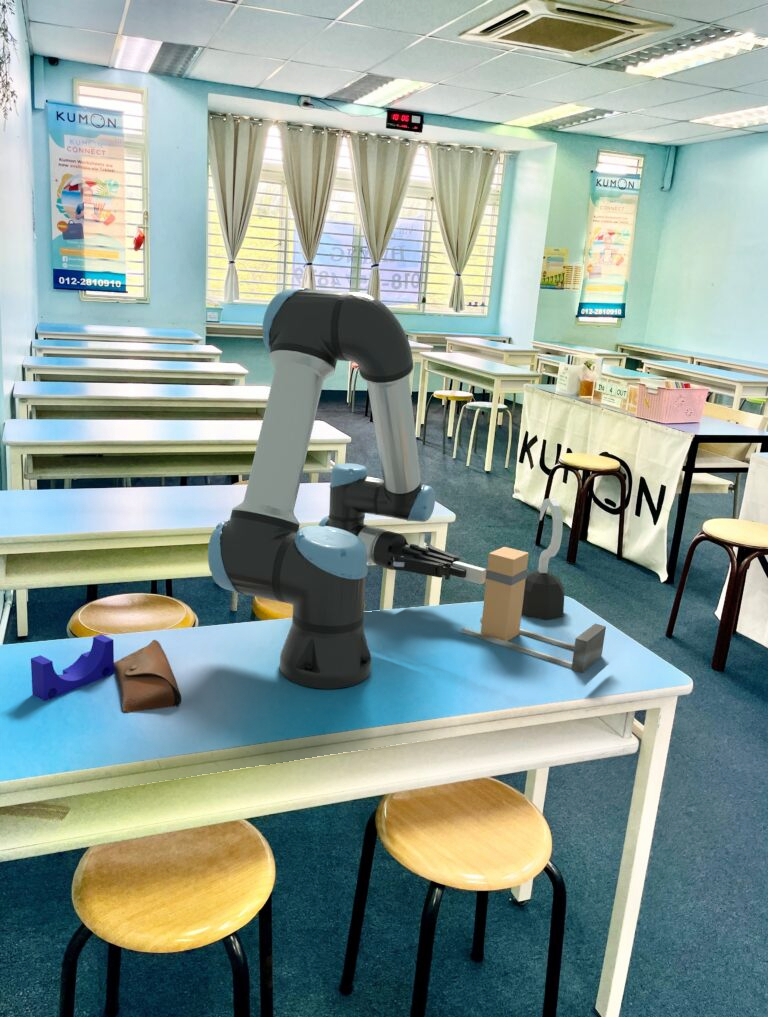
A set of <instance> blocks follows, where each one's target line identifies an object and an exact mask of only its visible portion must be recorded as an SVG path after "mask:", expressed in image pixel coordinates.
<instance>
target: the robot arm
mask: <svg viewBox="0 0 768 1017" xmlns="http://www.w3.org/2000/svg"><path fill="white" fill-rule="evenodd" d="M263 316H264V317H263V321H262V331H263V334H262V339H263V340H262V341H263V344H264V346H265V348H266V350H268V353H269V355H268V357H269V360H270V362H271V364H272V365H273V367H274V373H273V377H272V381H271V386H270V389H269V394H268V398H267V403H266V406H265V410H264V415H263V419H262V421H261V422H262V423H261V426H260V427H261V428H260V431H259V436H258V440H257V444H256V448H255V452H254V456H253V461H252V465H251V468H250V469H251V470H250V473H249V477H248V481H247V485H246V490H245V493H244V497H243V498H244V499H243V501H242V502H241V503H239V504H237V505H236V506H234V507H233V508H232V509H231V513H230V518H229V519H226V520H223V521H220V522H219V523H218V524H216V526H215V529H213V530H212V533H211V534H210V538H209V541H208V547H207V562H208V568H209V571H210V573H211V577H212V578H213V580H214V582H215V583H216V584H217V585H218V586H219V587H221V588H222V589H225V590H227V591H231V592H234V593H237V594H239V595H244V596H252V597H256V598H261V599H266V600H269V601H276V602H280V603H284V604H289V605H292V621H291V622H292V623H291V625H290V628H289V632H288V634H287V636H286V638H285V641H284V643H283V646H282V649H281V652H280V655H279V670H280V672H281V674H282V675H283V677H285V678H286V679H287V680H289V681H291V682H292V683H295V684H297V685H299V686H300V685H301V686H303V687H309V688H313V689H314V688H315V689H325V690H330V689H342V688H347V687H352V686H355V685H357V684H359V683H361V682H363V681H365V680H366V679H367V678H368V677H369V676H370V673H371V671H372V670H371V665H372V655H371V652H370V648H369V644H368V640H367V638H366V637H367V636H366V634H365V629H364V616H365V615H364V613H365V604H366V603H365V600H366V588H367V576H368V571H369V569H368V568H369V567H368V565H369V566H372V565H376V566H378V567H380V568H383V569H387V570H391V571H404V572H410V573H415V574H420V575H424V576H429V577H430V576H431V577H435V578H443V576H445V578H444V580H445V581H447V580H451V577H454V578H457V579H461V580H465V581H468V582H471V583H475V584H478V585H482V584H483V585H484V583H485V584H486V570H487V569H486V568H485V567H480V566H476V565H473V564H469V563H465V562H463V561H460V560H461V558H460V556H458V555H455V554H453V553H450V552H447V551H446V550H442V549H440V548H438V547H435V546H433V545H432V544H429V543H427V544H425V547H421V546H419V545H418V544H416V543H415V544H414V543H409V542H408V541H407V538H406V537H405V536H404V535H403V534H402V533H398V532H394V531H391V530H386V529H385V528H380V527H377V526H373V525H372V526H371V525H368V524H365V518H366V517H365V516H366V514H368V515H374V516H381V517H387V518H392V519H396V520H403V521H407V522H417V523H418V522H419V523H425V522H427V521H429V520H430V518H431V517H432V514H433V512H434V510H435V505H436V493H435V489H434V488H433V487H432V486H431V485H427V484H422V479H421V478H422V477H421V472H420V471H421V469H420V461H419V455H418V454H419V452H418V445H417V437H416V436H417V435H416V428H415V427H416V426H415V418H414V417H415V416H414V410H413V401H412V393H411V384H410V376H411V374H412V372H413V370H414V360H413V352H412V348H411V345H410V342H409V339H408V337H407V335H406V332H405V330H404V328H403V326H402V324H401V323H400V321H399V320H398V318H397V317H396V315H395V314H394V312H392V311H391V310H390V309H389V307H388V306H387V305H386V304H384V303H383V302H382V301H381V300H380V299H378V298H376V297H375V296H373V295H370V294H368V293H365V292H361V291H341V290H340V291H339V290H337V291H336V290H325V289H324V290H323V289H310V288H309V287H308V288H307V287H301V288H288V289H283V290H282V291H280V292H278V293H276V295H274V297H272V299H271V301H270V302H269V304H268V306H267V307H266V310H265V312H264V315H263ZM338 361H341V362H342V361H345V362H352V363H355V364H356V365H357V366H358V371H359V375H360V377H361V379H362V380H363V381H365V382H366V385H367V390H368V397H369V402H370V407H371V408H370V410H371V414H372V420H373V426H374V432H375V433H374V434H375V439H376V444H377V451H378V457H379V462H380V468H381V475H382V476H381V477H382V478H378V477H377V478H376V477H371V476H369V474H368V469H367V467H366V466H365V465H361V464H358V463H353V462H352V463H350V462H349V463H348V462H347V463H338V464H337V465H334V466H333V467H332V468H331V474H330V485H329V507H328V508H329V515H327V516H325V517H322V519H321V520H320V521H319V522H318V525H317V524H316V525H305V526H303V527H300V525H301V523H300V522H299V520H298V518H297V517H296V516H295V506H296V503H297V498H298V495H299V489H300V485H301V481H302V476H303V473H304V468H305V464H306V463H305V462H306V458H307V453H308V451H309V450H308V449H309V446H310V441H311V437H312V432H313V428H314V423H315V419H316V415H317V410H318V406H319V404H320V403H319V402H320V399H321V398H320V397H321V394H322V389H323V384H324V381H325V380H327V379H330V378H331V377H332V376H333V375H334V374H335V371H336V366H337V363H338Z"/></svg>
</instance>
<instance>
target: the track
mask: <svg viewBox="0 0 768 1017" xmlns="http://www.w3.org/2000/svg"><path fill="white" fill-rule="evenodd" d="M480 622H481V623H482V616H481V617H480ZM606 629H607V626H605V625H603V624H602V625H601V624H599V623H598V624H597V623H594V624H593V625H591V626H590V627H588V628H587V629H586V630H584V631H583V632H582V633H581V634H579V635H578V636H577V637H575V640H574V644H572V643H568V642H565V641H563V640H559V639H555V638H553V637H549V636H546V635H542V634H540V633H537V632H533V631H530V630H526V629H523V628H521V627H520V631H519V634H518V635H523V636H525V637H529V638H533V639H535V640H539V641H542V642H545V643H548V644H552V645H555V646H558V647H561V648H565V649H567V650H571V651H573V654H572V661H569V660H566V659H562V658H560V657H557V656H553V655H550V654H547V653H544V652H541V651H539V650H535V649H532V648H529V647H525V646H522V645H519V644H516V643H513V642H510V641H508V642H507V641H504V640H501V639H498V638H495V637H492V636H489V635H486V634H482V633H481V632H479V631H476V630H473V629H470V628H468V627H461V629H460V632H461V633H463V634H466V635H469V636H472V637H474V638H479V639H481V640H484V641H487V642H491V643H493V644H497V645H499V646H502V647H505V648H509V649H512V650H515V651H517V652H520V653H523V654H527V655H530V656H532V657H535V658H539V659H543V660H545V661H548V662H551V663H554V664H557V665H560V666H564V667H566V668H570V669H571V670H572V671H575V672H578V673H581V674H583V673H584V672H586V671H587V670H588V669H589V668H591V666H593V665H594V664H595V662H597V661H598V660H599V659H601V658H602V656H603V649H604V643H605V635H606Z"/></svg>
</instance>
